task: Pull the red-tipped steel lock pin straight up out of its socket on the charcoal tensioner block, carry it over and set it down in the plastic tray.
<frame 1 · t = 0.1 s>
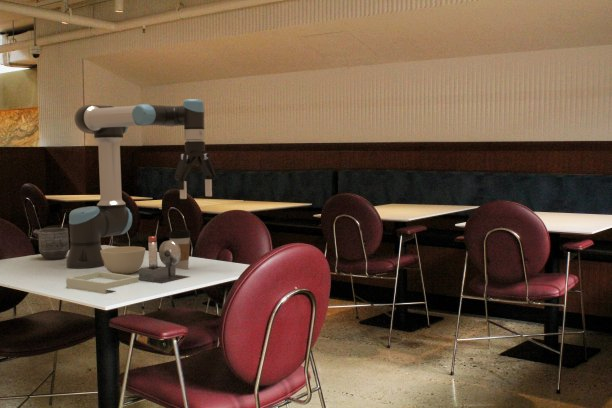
hand: (196, 197, 257), 28 cm above the table, fingers open, 13 cm apart
coffee cup: (180, 269, 265), on the table
bowl: (124, 277, 250), on the table
tensioner block: (160, 282, 238), on the table
planter: (54, 258, 296), on the table
tray: (102, 286, 231), on the table
lock pin: (153, 279, 236), point 1 cm above the table, touching tensioner block
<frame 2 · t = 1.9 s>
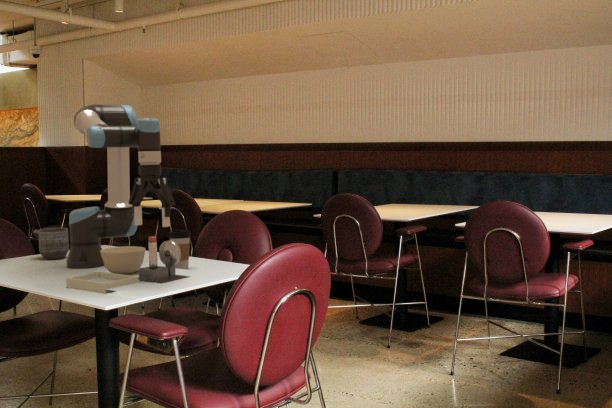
hand: (152, 226, 234), 20 cm above the table, fingers open, 13 cm apart
nothing on the table moved.
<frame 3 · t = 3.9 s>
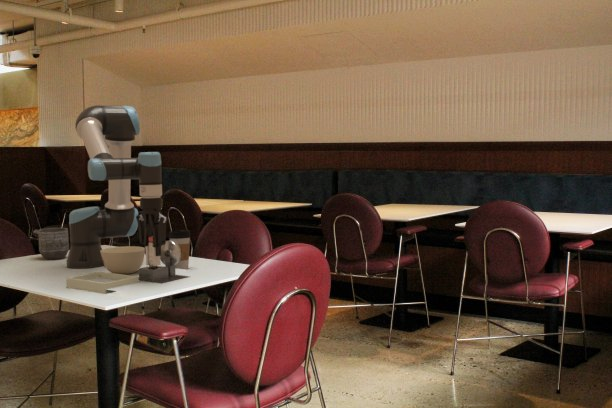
hand: (153, 264, 235), 7 cm above the table, fingers closed on lock pin, 3 cm apart
lock pin: (153, 279, 236), point 2 cm above the table, touching gripper
everything else where it was.
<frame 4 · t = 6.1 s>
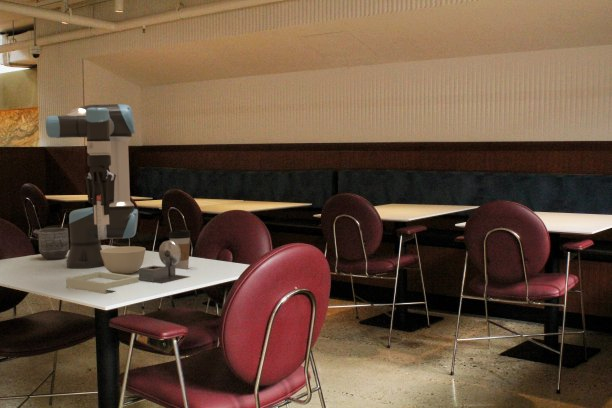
hand: (101, 224, 230), 21 cm above the table, fingers closed on lock pin, 3 cm apart
lock pin: (102, 239, 230), point 16 cm above the table, touching gripper
everything else where it was.
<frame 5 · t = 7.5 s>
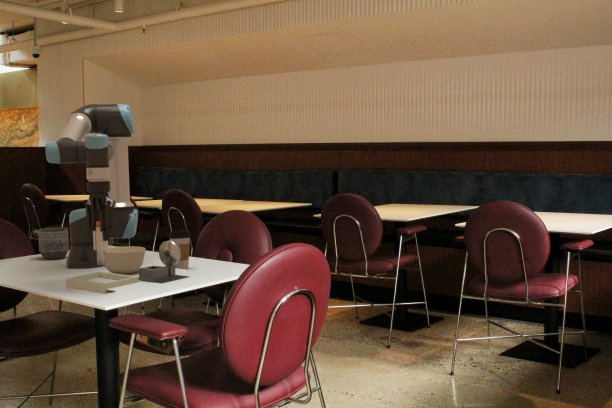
hand: (101, 249, 230), 13 cm above the table, fingers closed on lock pin, 3 cm apart
lock pin: (101, 264, 230), point 8 cm above the table, touching gripper
everything else where it was.
when the fingers open (8 cm above the table, at t = 8.5 s): lock pin drops 2 cm, resting on tray.
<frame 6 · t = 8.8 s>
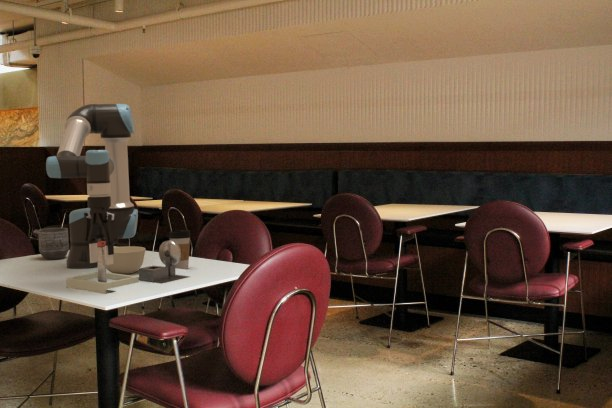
hand: (101, 263, 231), 8 cm above the table, fingers open, 7 cm apart
lock pin: (102, 284, 231), point 1 cm above the table, touching tray
everything else where it was.
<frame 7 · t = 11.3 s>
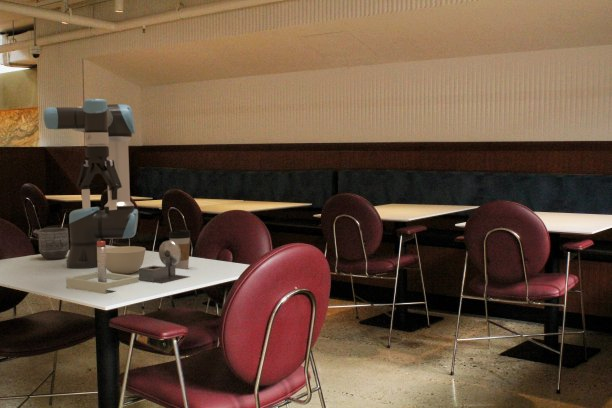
hand: (99, 209, 229), 26 cm above the table, fingers open, 13 cm apart
nothing on the table moved.
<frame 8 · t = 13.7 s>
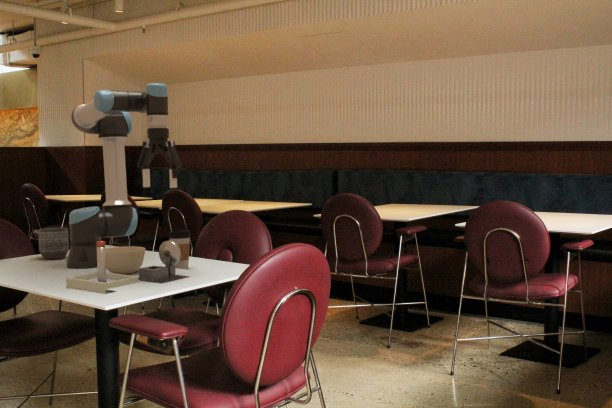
hand: (159, 187, 243), 33 cm above the table, fingers open, 13 cm apart
nothing on the table moved.
at the end: lock pin inside the target area on the tray (0.1 cm from its centre), point 0.8 cm above the tray's base; lock pin moved 17.1 cm from its start; the gripper is holding nothing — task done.
